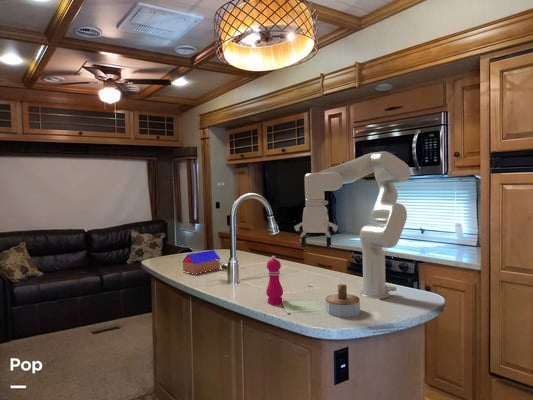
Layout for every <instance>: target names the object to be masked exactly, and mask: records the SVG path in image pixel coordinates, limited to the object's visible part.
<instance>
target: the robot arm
mask: <svg viewBox="0 0 533 400" xmlns="http://www.w3.org/2000/svg"><path fill="white" fill-rule="evenodd" d="M372 173H374V177H375V181H376V183H377V186H378V194H377V197H376V200H375V202H374V205H373V207H372V210H371V214H370V217H371V218H370V219H371V221H372V222H374V223H369V224H366V225H363V226H362V228H360V230H359V231H360V232H359V239H360V244H361V249H362V251H361V252H362V253H361V254H362V282H363V283H362V285H363V289H362V290H361V291H360V292H359V295H360V297H363V298H368V299H379V300H383V299H387V298H389V297H390V292H396V291H397V286H391V285H386V256H385V255H386V254H385V252H384V249H383V248H386V249H392V248H394V247H396V246H397V245H398V243H399V240H400V239H401V236H402V233H403V230H404V228H405V225H406V222H407V219H408V213H407V208H406V207H405V205H403V204H402V203H399V202H397V201H398V196H399V194H398V190H397V188H396V185H394V183H395V184H396V183H405V182H407V181H408V180H409V179H410V177H411V173H412V172H411V168H410V166H409V165H408V164H407V163H406V162H405V161H404V160H402V159H400V158H399V157H397V156H396V155H394V154H393V153H392V152H391V153H390V152H388V151H386V150H385V151H377V152H376V151H375V152H370V153H367V154H364V155H362V156H359V157H357V158H354V159H352V160H349V161H347V162H344V163H343V162H342V163H341V164H338V165H335V166H332V167H328V168H325V169H324V170H323V169H322V170H321V171H319V172H309V173H308V172H307V173H306V174H305V175H304V196H305V198H304V199H305V201H304V202H305V203H304V205H305V207H303V212H302V221H301V222H300V223H298V224H296V225H294V226H293V228H294V230H295V231H296V234H297V235H298V236H299V237H300V240H301V242H300V243H301V244H300V245H301V246H302V248H305V247H307V237H306V234H307V233H309V234H311V233H312V234H313V233H316V234H317V233H318V234H319V233H322V234H325V235H326V236H327V237H326V248H330V247H331V246H332V236H333V235H334V234H335V233H337V230H338V227H339V226H338V225H337V224H335V223H332V222H331V221H329V220H330V219H329V213H328V211H329V210H328V208H327V205H328V204H329V201H328V200H325V192H327V191H329V192H333V191H338V190H340V189H341V188H342V186H343V185H344V183H349V182H354V181H358V180H360V179H363V178H364V177H367V176H368V175H371V174H372ZM375 223H376V224H375ZM300 227H302V231H301V230H300ZM330 227H331V228H332V230H331V231H329V230H330Z"/></svg>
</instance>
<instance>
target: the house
mask: <svg viewBox="0 0 533 400" xmlns="http://www.w3.org/2000/svg"><path fill="white" fill-rule="evenodd" d="M215 258H216V259H218V260H219V261H220V260H221V258H220V256H219V255H218V254H217V252H216V250H214V249H212V250H207V251H200V252H194V253H188V254H187V255H186V256H185V257H184V259H183V260H182V272H183V271H185V272H189V273H193V274H196V273H200V272H205V271H210V270H214V271H216V270H215V269H219V268H220V269H221V261H220V263H219V262H218V261H217V260H216V259H215ZM220 269H219V270H220ZM210 272H211V271H210ZM205 273H206V272H205ZM193 274H192V275H193ZM200 274H201V273H200ZM196 275H197V274H196Z"/></svg>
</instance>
